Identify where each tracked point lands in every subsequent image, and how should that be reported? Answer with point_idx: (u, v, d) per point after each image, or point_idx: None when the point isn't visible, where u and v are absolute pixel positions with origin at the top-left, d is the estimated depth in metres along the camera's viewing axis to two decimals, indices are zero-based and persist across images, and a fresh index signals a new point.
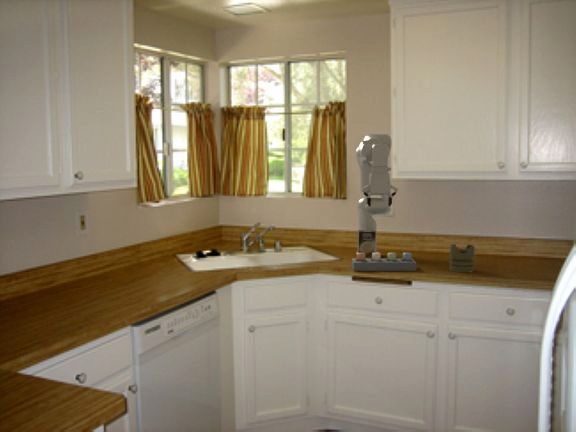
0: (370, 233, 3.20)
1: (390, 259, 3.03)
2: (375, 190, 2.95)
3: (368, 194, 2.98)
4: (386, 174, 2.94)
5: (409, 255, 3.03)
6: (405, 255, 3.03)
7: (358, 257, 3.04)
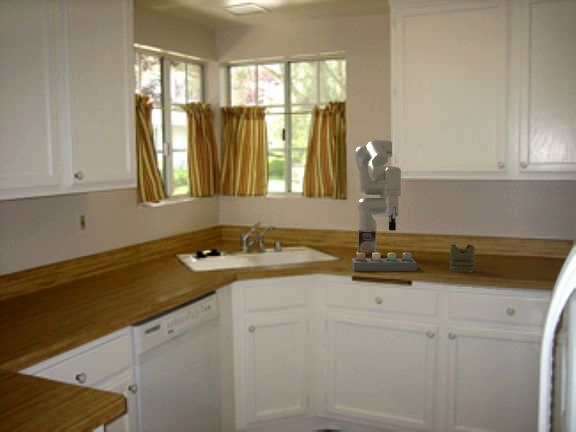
0: (370, 233, 3.20)
1: (390, 259, 3.03)
2: None
3: None
4: None
5: (409, 255, 3.03)
6: (405, 255, 3.03)
7: (358, 257, 3.04)
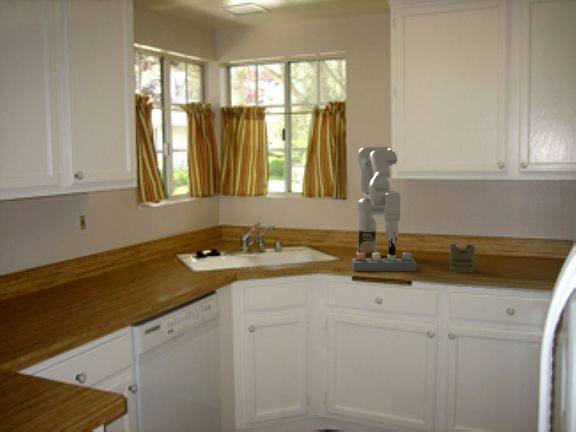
0: (370, 233, 3.20)
1: None
2: (397, 237, 3.01)
3: None
4: None
5: (409, 255, 3.03)
6: (405, 255, 3.03)
7: (358, 257, 3.04)
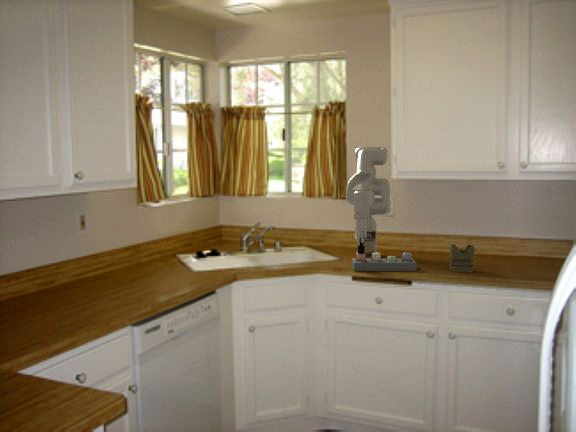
0: (370, 233, 3.20)
1: None
2: None
3: (359, 243, 3.02)
4: None
5: (409, 255, 3.03)
6: (405, 255, 3.03)
7: (358, 257, 3.04)
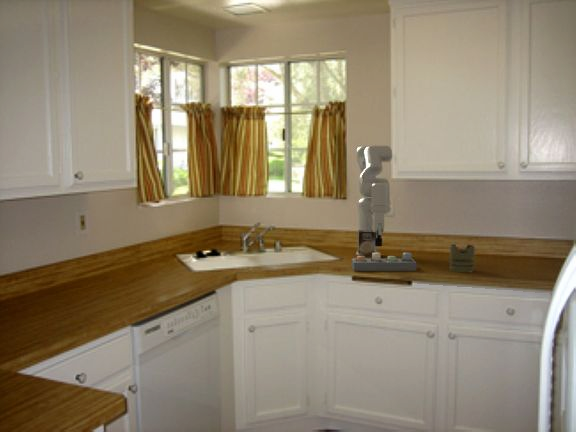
0: (370, 233, 3.20)
1: None
2: None
3: None
4: None
5: (409, 255, 3.03)
6: (405, 255, 3.03)
7: (358, 260, 3.04)
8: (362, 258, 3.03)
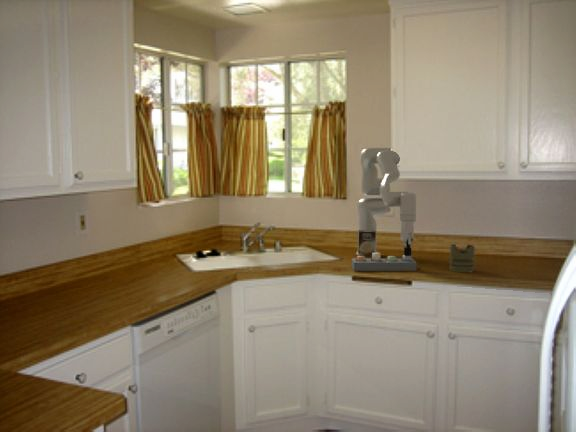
0: (370, 233, 3.20)
1: None
2: None
3: (406, 244, 3.02)
4: None
5: (409, 257, 3.03)
6: (405, 257, 3.03)
7: (358, 260, 3.04)
8: (362, 258, 3.03)
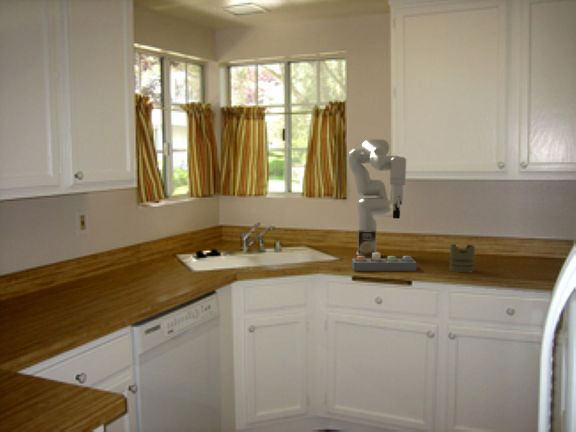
0: (370, 233, 3.20)
1: None
2: None
3: (395, 207, 3.10)
4: None
5: (409, 258, 3.03)
6: (405, 258, 3.03)
7: (358, 260, 3.04)
8: (362, 258, 3.03)
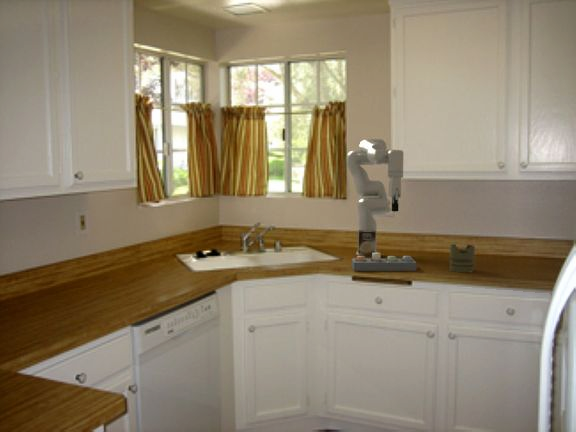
0: (370, 233, 3.20)
1: None
2: (400, 194, 3.10)
3: None
4: None
5: (409, 258, 3.03)
6: (405, 258, 3.03)
7: (358, 260, 3.04)
8: (362, 258, 3.03)
